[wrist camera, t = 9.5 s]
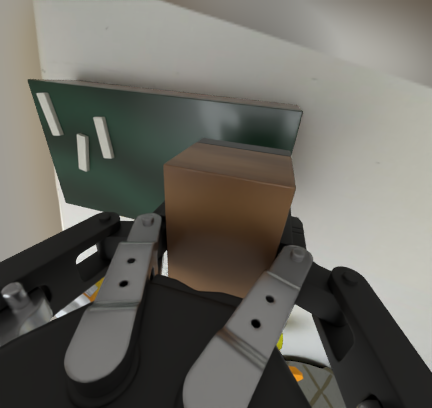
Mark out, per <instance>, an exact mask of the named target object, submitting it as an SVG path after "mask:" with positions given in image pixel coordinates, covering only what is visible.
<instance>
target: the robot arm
mask: <svg viewBox="0 0 432 408" xmlns="http://www.w3.org/2000/svg"><path fill="white" fill-rule="evenodd" d="M95 244H96V246H97V250H98V251H97V252H95V253H94V254H92V255H91V256H89V257H88V258H86V259H85V260H83V261H82V262H80V263H78V264H77V265H76V259H77V257H78V256H79V255H80V254H81V253H82V252H84V251H85V250H87V249H89V248H90V247H92V246H94V245H95ZM166 250H167V235H166V213H165V201H164V202H163V203H162V204H161V205H160V206H159V207H158V208H157V209H156V210H155V211H154V212H153V213H145V214H141V215H139V216H138V217H136V218H135V220H134V221H120V217H119V215H118V214H117V213H115V212H102V213H99V214H96V215H94V216H92V217H90V218H88V219H86V220H84V221H82V222H80V223H78V224H76V225H74V226H72V227H70V228H68V229H66V230H64V231H62V232H60V233H58V234H56V235H54V236H52V237H50V238H48V239H46V240H44V241H43V242H40V243H38V244H36V245H34V246H32V247H30V248H28V249H26V250H24V251H22V252H20V253H18V254H16V255H14V256H12V257H10V258H8V259H6V260H4V261H2V262H0V408H312V407H311V405H310V403H309V402H308V400H307V398H306V396H305V395H304V393H303V391H302V389H301V388H300V386H299V384H298V382H297V381H296V379H295V377H294V375H293V373H292V372H291V370H290V368H289V366H288V365H287V363H286V361H285V359H284V358H283V356H282V354H281V352H280V351H279V349H278V347H277V343H278V341H279V339H280V336H281V334H282V332H283V329H284V327H285V325H286V323H287V320H288V318H289V316H290V314H291V311H292V309H293V307H294V305H295V304H296V305H298V306H299V307H301V308H303V309H305V310H306V311H308V312H310V313H312V317H313V320H314V323H315V325H316V328H317V331H318V333H319V336H320V339H321V341H322V344H323V347H324V349H325V352H326V355H327V357H328V360H329V363H330V366H331V368H332V371H333V374H334V376H335V379H336V382H337V384H338V387H339V390H340V392H341V395H342V398H343V400H344V403H345V406H346V408H432V372H431V371H430V369H429V368H428V367H427V365H426V364H425V362H424V361H423V360H422V358H421V357H420V355H419V354H418V353H417V351H416V350H415V348H414V347H413V346H412V344H411V343H410V341H409V340H408V338H407V337H406V336H405V334H404V333H403V331H402V330H401V329H400V327H399V326H398V324H397V323H396V322H395V320H394V319H393V317H392V316H391V314H390V313H389V312H388V310H387V309H386V307H385V306H384V305H383V303H382V302H381V300H380V299H379V298H378V296H377V295H376V293H375V292H374V291H373V289H372V288H371V286H370V285H369V283H368V282H367V281H366V279H365V278H364V277H363V276H362V275H360V274H359V273H358V272H356V271H354V270H352V269H350V268H347V267H335V268H334V269H333V270H332V271H330V270H328V269H325V268H323V267H321V266H319V265H318V264H316V263H315V262H313V257H312V255H311V254H310V253H309V252H308V251H307V250H306V244H305V237H304V230H303V224H302V222H301V221H300V220H299V218H297V217H292V216H291V209H290V210H289V213H288V217H287V220H286V224H285V227H284V230H283V234H282V237H281V240H280V244H279V247H278V250H277V254H276V257H275V260H274V262H273V263H272V265H271V266H270V268H269V269H268V270H266V269H265V270H264V271H263V272H262V273H261V275H260V276H259V278H258V279H257V280H256V282H255V283H254V285H253V286H252V287H251V289H250V290H249V292H248V293H247V294H246V296H245V297H244V298H241V297H237V296H234V295H230V294H227V293H223V292H211V291H197V290H194V289H193V288H191V287H189V286H187V285H186V284H184V283H182V282H180V281H179V280H177V279H174V278H170V277H166V276H163V275H161V274H162V268H163V261H164V253H165V251H166ZM102 278H104V279H103V282H102V284H101V286H100V289H99V291H98V293H97V296H96V298H95V300H94V301H92V302H90V303H88V304H86V305H84V306H82V307H80V308H78V309H75V310H73V311H71V312H69V313H67V314H65V315H63V316H61V317H59V318H57V319H54V320H52V321H50V320H51V318H52V317H53V316H54V315H56V314H57V313H58V312H60V311H61V310H62V309H63V308H65V307H66V306H67V305H69V304H70V303H71V302H73V301H74V300H75V299H76V298H78V297H79V296H80V295H82V294H83V293H84V292H85V291H87V290H88V289H89V288H91V287H92V286H93V285H94V284H96V283H97V282H98V281H100V280H101V279H102ZM49 321H50V322H49Z"/></svg>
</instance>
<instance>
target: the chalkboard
mask: <svg viewBox="0 0 432 408" xmlns="http://www.w3.org/2000/svg"><path fill="white" fill-rule="evenodd" d="M28 83H29V86H30V89H31V93H32V96H33V99H34V102H35V106H36V109H37V112H38V115H39V118H40V121H41V125H42V128H43V131H44V134H45V137H46V141H47V144H48V147H49V150H50V153H51V156H52V159H53V163H54V166H55V169H56V173H57V176H58V179H59V182H60V185H61V189H62V192H63V195H64V198H65V201H66V203H69V204H73V205H78V206H82V207H86V208H90V209H94V210H98V211H103V212H115V213H117V214H118V215H119V216H124V217H128V218H132V219H135V218H136V217H138V216H139V215H141V214H145V213H153V212H154V211H155V210H156V209H157V208H158V207H159V206H160V205H161V204H162V203H163V202H164V201H165V191H164V169H163V165H164V164H165V163H166V162H168V161H169V160H171V159H172V158H174V157H175V156H177V155H178V154H180V153H181V152H183V151H184V150H186V149H187V148H189V147H190V146H192V145H193V144H195V143H196V142H198V141H199V140H201V139H202V138H208V139H215V140H221V141H228V142H235V143H242V144H248V145H255V146H262V147H269V148H276V149H282V150H289V151H290V152H291V155H292V151H293V147H294V144H295V140H296V136H297V132H298V129H299V125H300V121H301V117H302V114H303V111H302V110H301V109H300V107H299V106H298V105H293V104H284V103H275V102H266V101H257V100H248V99H239V98H230V97H221V96H212V95H203V94H194V93H185V92H176V91H167V90H158V89H149V88H140V87H131V86H122V85H113V84H104V83H95V82H86V81H78V80H36V79H28ZM36 93H48V94H49V96H50V99H51V102H52V104H53V107H54V110H55V112H56V115H57V118H58V120H59V123H60V126H61V128H62V131H63V134H64V135H60V136H54V135H53V134H52V132H51V129H50V127H49V124H48V122H47V119H46V117H45V114H44V112H43V109H42V107H41V104H40V102H39V99H38V97H37V94H36ZM93 117H105V119H106V123H107V128H108V132H109V136H110V140H111V145H112V149H113V153H114V158H112V159H109V158H104V157H103V153H102V150H101V146H100V142H99V138H98V134H97V131H96V127H95V123H94V119H93ZM79 133H81V134H83V135H86V136H88V139H89V166H90V170H89V171H87V172H86V171H83V170H81V169H79V162H78V147H77V134H79Z"/></svg>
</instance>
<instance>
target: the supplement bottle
mask: <svg viewBox="0 0 432 408" xmlns="http://www.w3.org/2000/svg"><path fill="white" fill-rule="evenodd" d="M103 279H104V278H102V279H101V280H100V281H98V282H97V283H96V284H94V285H93V286H92V287H91V288H89V289H88V290H87V291H85V292H84V293H83V294H82V295H80V296H79V297H78V298H76V299H75V300H74V301H73V302H71V303H70V304H69V305H67V306H66V307H65V308H63V309H62V310H61V311H60V312H58V313H57V314H56V317H57V318H59V317H61V316H63V315H65V314H67V313H69V312H71V311H73V310H75V309H78V308H80V307H82V306H84V305H86V304H88V303H90V302H92V301H94V300H95V298H96V296H97V293H98V291H99V289H100V286H101V284H102V282H103Z"/></svg>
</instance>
